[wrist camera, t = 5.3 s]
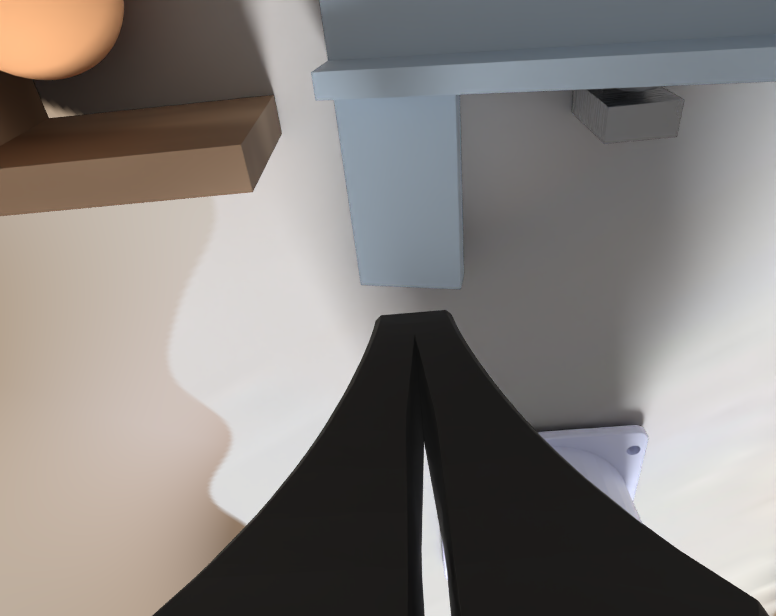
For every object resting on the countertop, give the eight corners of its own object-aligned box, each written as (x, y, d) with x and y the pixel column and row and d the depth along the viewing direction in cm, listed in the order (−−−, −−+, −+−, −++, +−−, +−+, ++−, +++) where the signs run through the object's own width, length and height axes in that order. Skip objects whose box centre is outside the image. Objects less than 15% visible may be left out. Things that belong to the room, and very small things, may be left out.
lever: (899, 287, 14) (969, 363, 12) (368, 268, 17) (341, 324, 15) (1265, -443, 7) (1591, -603, 5) (300, -246, 11) (232, -288, 9)
